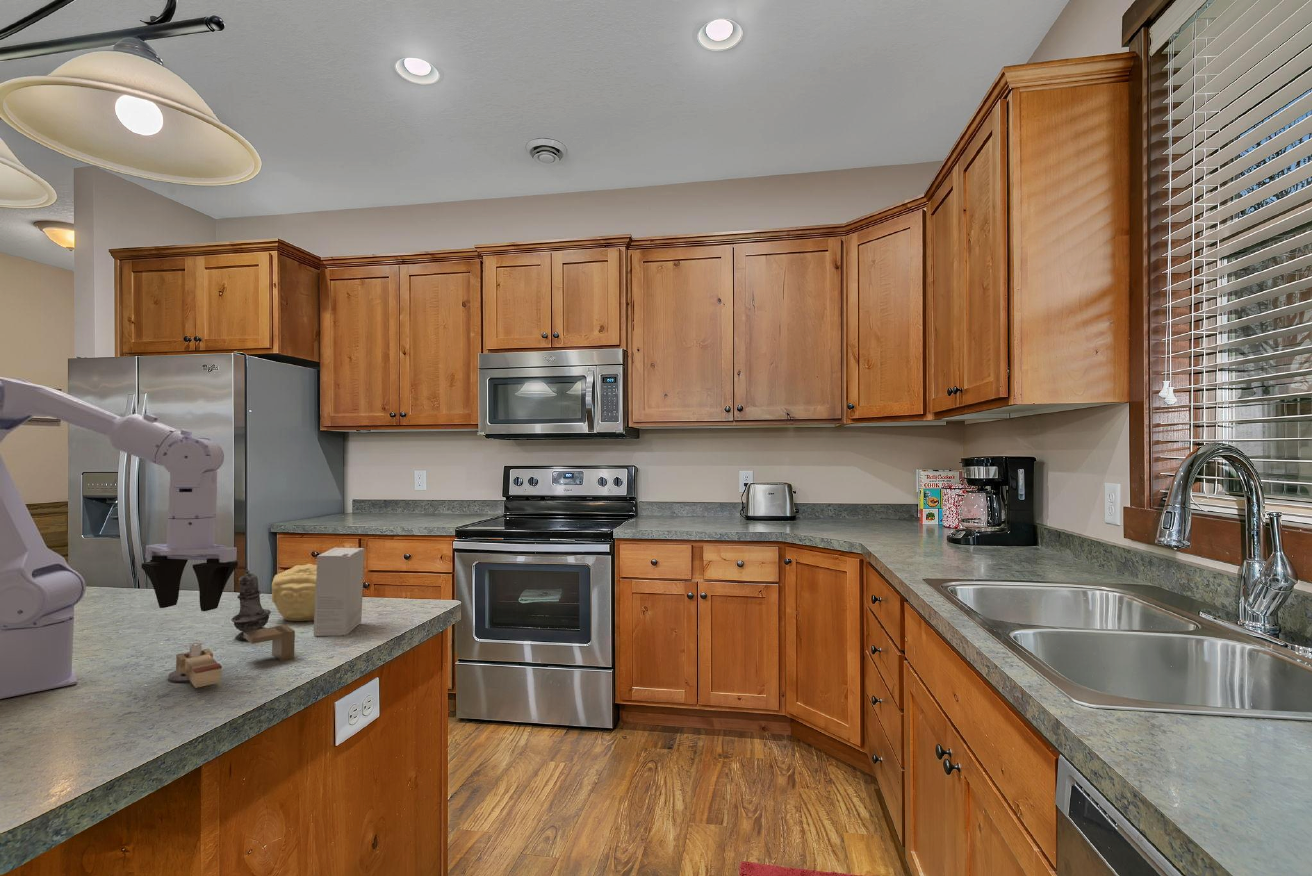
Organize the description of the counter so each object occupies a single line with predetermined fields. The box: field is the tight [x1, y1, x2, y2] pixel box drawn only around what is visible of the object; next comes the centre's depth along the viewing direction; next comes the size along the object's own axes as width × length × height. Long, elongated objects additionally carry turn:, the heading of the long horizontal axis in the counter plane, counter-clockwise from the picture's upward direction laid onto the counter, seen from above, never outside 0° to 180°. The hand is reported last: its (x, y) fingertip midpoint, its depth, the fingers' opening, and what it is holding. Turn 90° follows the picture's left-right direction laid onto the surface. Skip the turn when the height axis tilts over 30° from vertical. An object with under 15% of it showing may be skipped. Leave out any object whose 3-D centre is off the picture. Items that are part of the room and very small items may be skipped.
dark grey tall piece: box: [230, 568, 272, 642], centre depth 105 cm, size 6×6×12 cm
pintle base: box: [167, 642, 203, 684], centre depth 87 cm, size 6×6×4 cm
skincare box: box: [313, 547, 365, 637], centre depth 110 cm, size 8×6×15 cm
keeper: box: [244, 624, 296, 662], centre depth 94 cm, size 6×5×4 cm
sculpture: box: [271, 563, 317, 622], centre depth 118 cm, size 12×12×11 cm
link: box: [175, 648, 223, 689], centre depth 84 cm, size 11×4×2 cm, turn 48°
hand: (188, 608), depth 88 cm, fingers open, 7 cm apart
